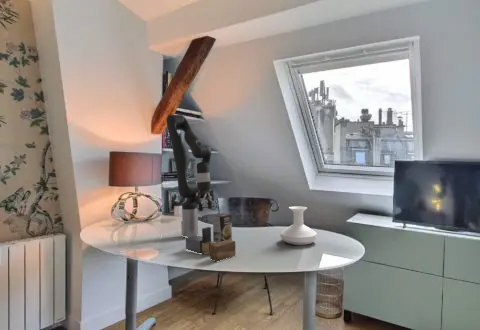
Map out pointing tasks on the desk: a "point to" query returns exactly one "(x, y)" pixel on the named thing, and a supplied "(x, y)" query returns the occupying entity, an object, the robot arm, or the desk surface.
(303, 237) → the white vase
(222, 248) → the socket
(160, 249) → the desk surface
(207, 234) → the tan and grey block
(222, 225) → the coffee box
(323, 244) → the desk surface
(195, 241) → the grey rectangular box
